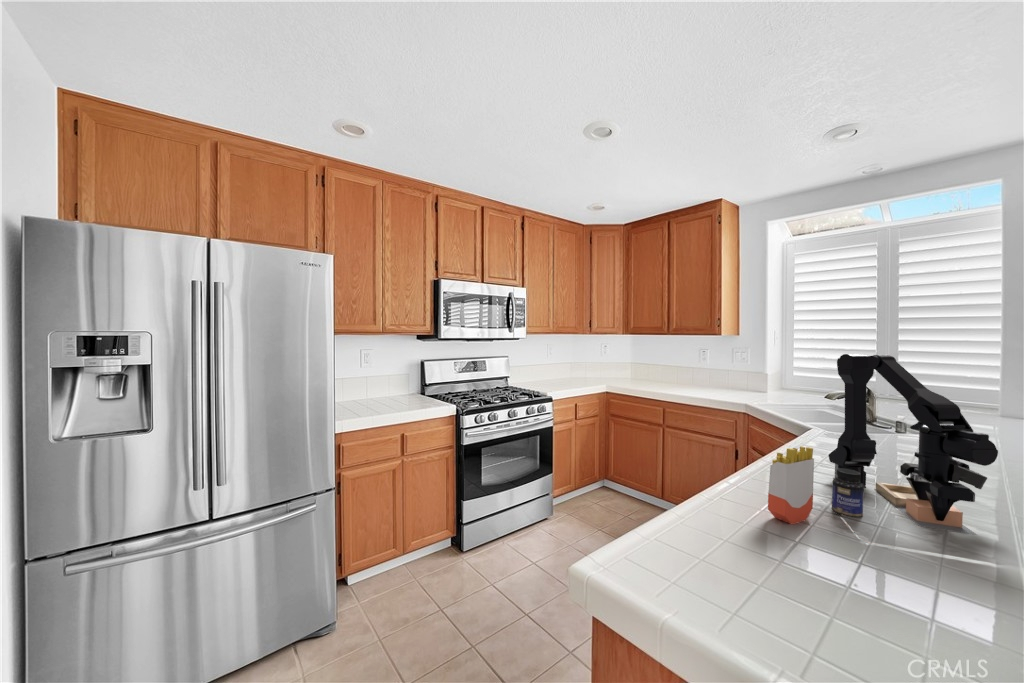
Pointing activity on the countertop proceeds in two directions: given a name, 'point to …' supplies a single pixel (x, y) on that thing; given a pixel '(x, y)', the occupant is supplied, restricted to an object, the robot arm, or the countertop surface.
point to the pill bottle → (847, 493)
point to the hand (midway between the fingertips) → (933, 515)
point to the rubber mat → (933, 525)
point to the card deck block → (932, 513)
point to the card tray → (896, 493)
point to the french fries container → (792, 485)
